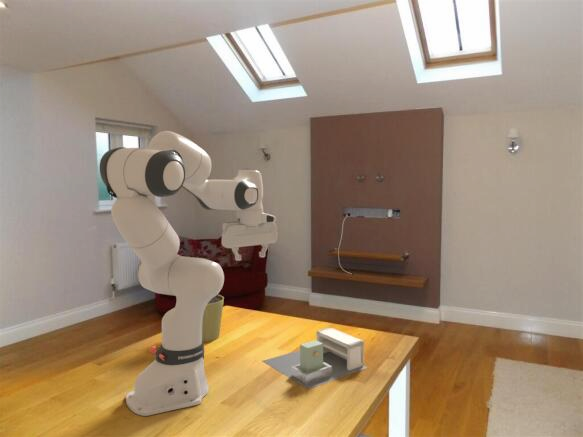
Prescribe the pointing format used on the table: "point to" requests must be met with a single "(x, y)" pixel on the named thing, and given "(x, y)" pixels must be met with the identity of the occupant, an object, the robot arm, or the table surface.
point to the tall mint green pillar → (311, 356)
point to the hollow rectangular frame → (311, 374)
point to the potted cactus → (212, 319)
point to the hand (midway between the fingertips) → (250, 258)
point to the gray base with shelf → (327, 356)
